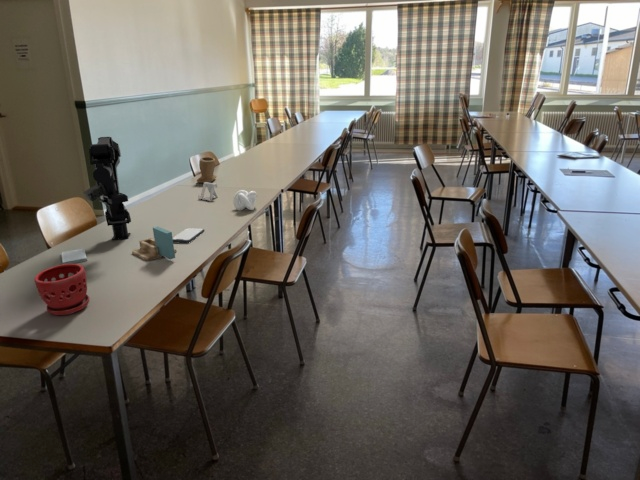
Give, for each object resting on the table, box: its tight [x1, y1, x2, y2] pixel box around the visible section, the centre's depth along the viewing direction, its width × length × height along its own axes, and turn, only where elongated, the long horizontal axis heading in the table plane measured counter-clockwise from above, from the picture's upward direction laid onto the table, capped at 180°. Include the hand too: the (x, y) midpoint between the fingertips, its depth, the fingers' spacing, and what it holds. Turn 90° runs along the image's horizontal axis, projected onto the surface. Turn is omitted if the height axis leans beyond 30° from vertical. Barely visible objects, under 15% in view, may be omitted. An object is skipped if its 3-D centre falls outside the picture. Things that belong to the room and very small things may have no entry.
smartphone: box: [172, 227, 205, 244], centre depth 203 cm, size 9×2×16 cm
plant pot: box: [33, 263, 91, 316], centre depth 142 cm, size 13×13×12 cm
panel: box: [152, 226, 176, 260], centre depth 178 cm, size 10×2×10 cm, turn 46°
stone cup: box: [196, 156, 217, 184], centre depth 296 cm, size 15×12×15 cm
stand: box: [131, 237, 178, 262], centre depth 185 cm, size 12×12×4 cm
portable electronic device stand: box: [197, 182, 219, 202], centre depth 258 cm, size 9×8×8 cm
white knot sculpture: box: [232, 189, 258, 211], centre depth 237 cm, size 11×12×9 cm
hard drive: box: [60, 248, 88, 265], centre depth 183 cm, size 2×8×12 cm
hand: (113, 217), depth 187 cm, fingers closed
